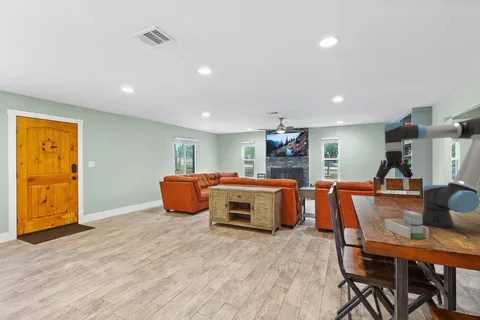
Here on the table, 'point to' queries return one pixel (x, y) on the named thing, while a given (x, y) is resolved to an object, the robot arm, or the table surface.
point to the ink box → (413, 224)
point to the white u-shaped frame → (401, 228)
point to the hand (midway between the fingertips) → (395, 190)
